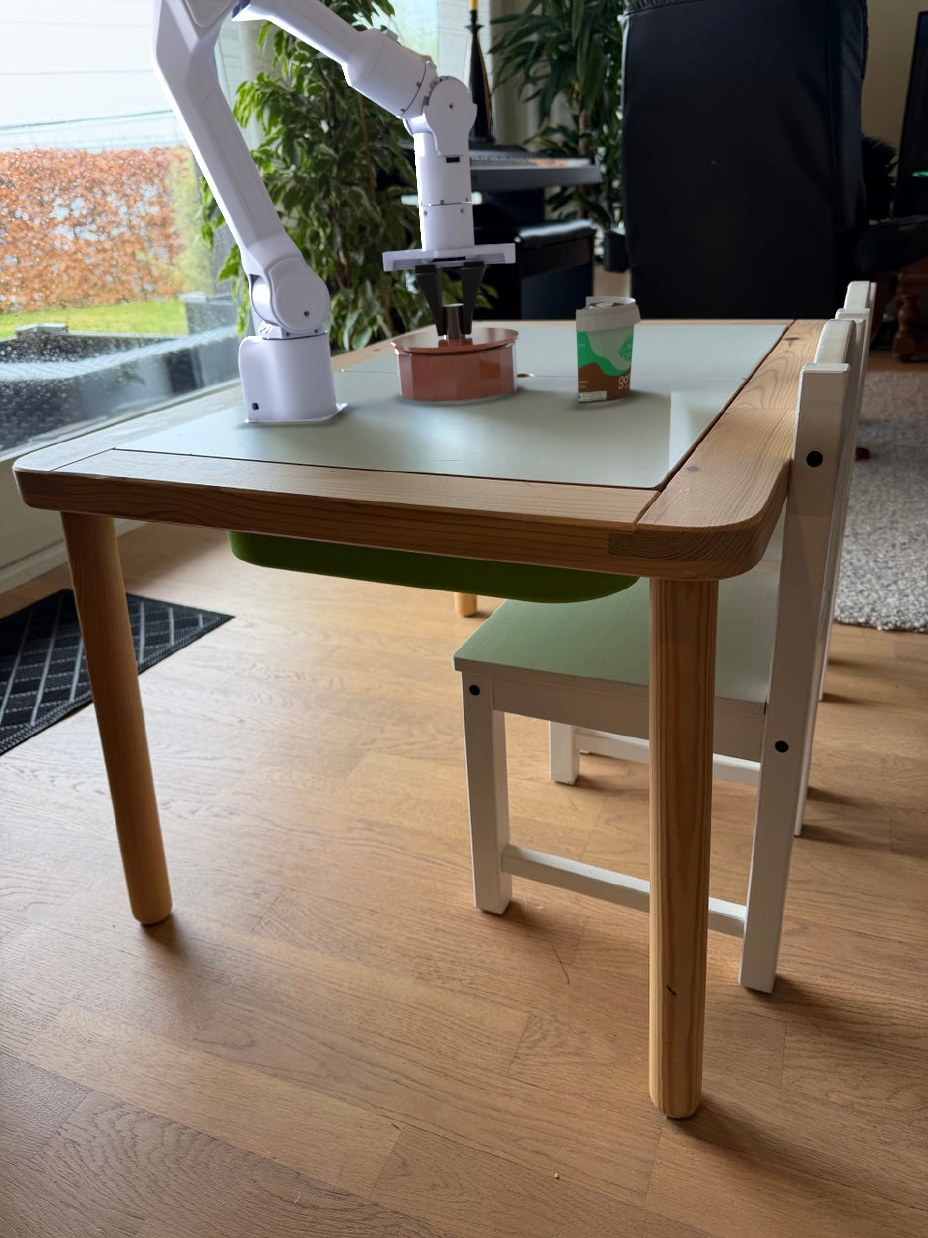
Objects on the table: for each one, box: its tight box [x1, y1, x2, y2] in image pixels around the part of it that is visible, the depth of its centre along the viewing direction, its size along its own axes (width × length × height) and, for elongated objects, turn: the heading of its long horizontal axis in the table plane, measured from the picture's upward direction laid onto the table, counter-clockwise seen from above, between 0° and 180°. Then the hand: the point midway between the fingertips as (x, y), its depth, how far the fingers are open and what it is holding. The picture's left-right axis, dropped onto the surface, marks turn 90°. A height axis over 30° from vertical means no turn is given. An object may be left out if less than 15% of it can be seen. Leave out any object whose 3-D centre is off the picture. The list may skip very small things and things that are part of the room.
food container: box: [575, 295, 641, 404], centre depth 100 cm, size 12×6×10 cm, turn 168°
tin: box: [394, 341, 519, 402], centre depth 110 cm, size 14×14×5 cm
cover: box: [391, 303, 520, 355], centre depth 108 cm, size 15×15×5 cm
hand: (454, 334), depth 108 cm, fingers closed on cover, 2 cm apart
